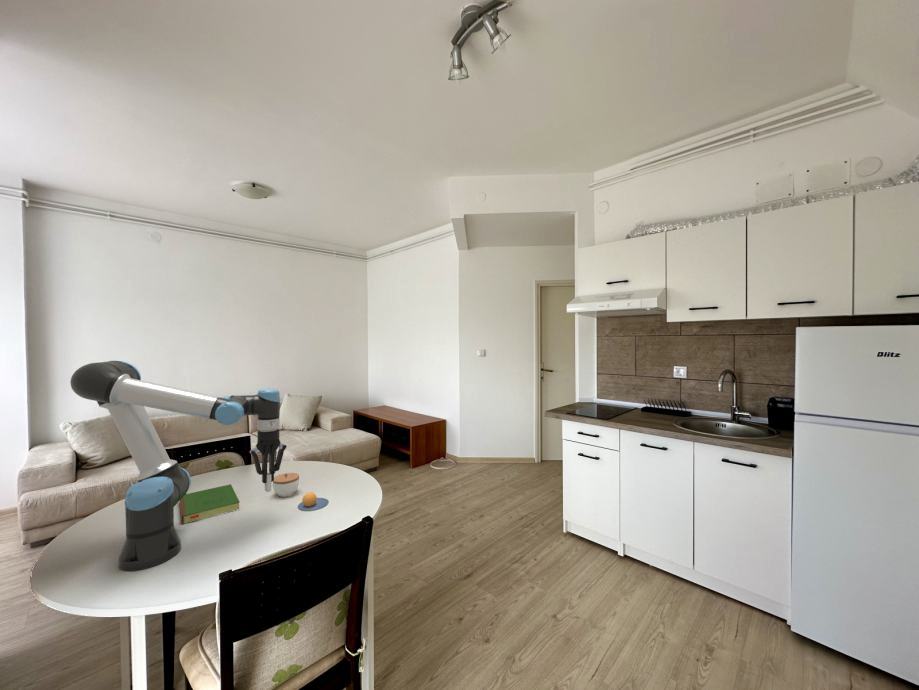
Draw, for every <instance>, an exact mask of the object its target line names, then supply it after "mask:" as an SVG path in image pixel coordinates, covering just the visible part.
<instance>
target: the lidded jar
mask: <svg viewBox="0 0 919 690" xmlns="http://www.w3.org/2000/svg"><path fill="white" fill-rule="evenodd" d="M299 484H300V474H298V473H296V472H285V473H282V474H278V475H276V476H274V481H272V487H273V491H274V493H275V494H276V495H277V496H278V497H279V496H280V498H287V496H288V497H291V496H293V495H294V494H295V492H296V491H297V490H298V488H299Z"/></svg>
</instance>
